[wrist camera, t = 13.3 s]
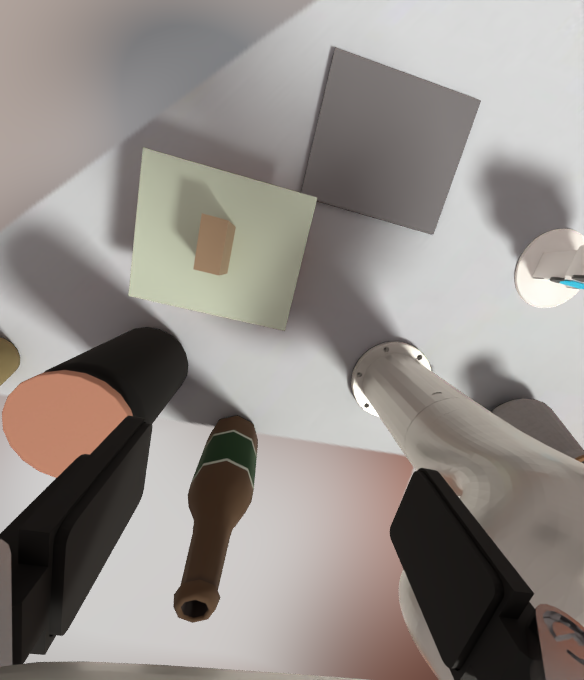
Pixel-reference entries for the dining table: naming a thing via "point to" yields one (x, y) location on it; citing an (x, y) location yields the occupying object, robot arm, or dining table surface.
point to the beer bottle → (216, 512)
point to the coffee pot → (540, 425)
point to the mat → (387, 143)
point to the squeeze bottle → (8, 360)
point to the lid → (217, 241)
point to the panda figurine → (551, 268)
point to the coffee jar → (92, 397)
